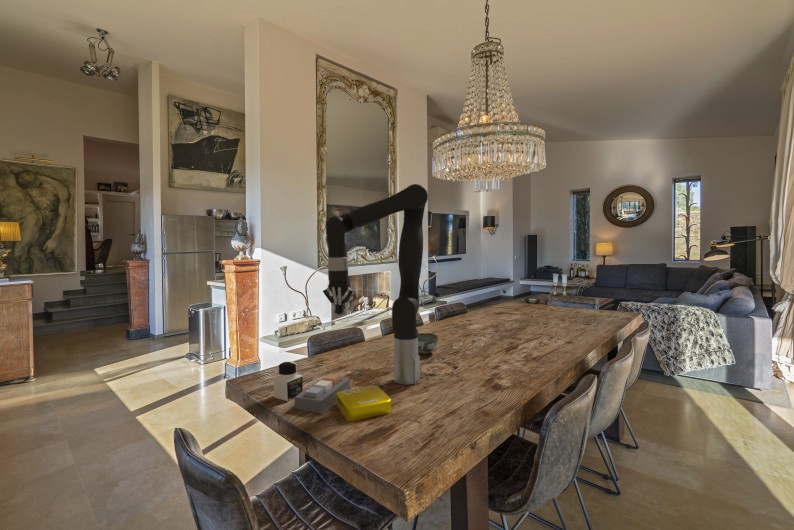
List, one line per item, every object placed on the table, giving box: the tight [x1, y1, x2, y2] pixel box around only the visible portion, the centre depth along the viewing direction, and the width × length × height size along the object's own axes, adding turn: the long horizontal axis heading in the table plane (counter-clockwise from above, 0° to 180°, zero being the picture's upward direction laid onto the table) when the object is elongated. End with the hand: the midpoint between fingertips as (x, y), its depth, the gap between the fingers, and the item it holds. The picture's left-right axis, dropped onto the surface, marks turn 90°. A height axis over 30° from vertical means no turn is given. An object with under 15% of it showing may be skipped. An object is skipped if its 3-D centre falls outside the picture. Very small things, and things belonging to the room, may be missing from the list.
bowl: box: [418, 332, 439, 355], centre depth 187 cm, size 14×13×8 cm
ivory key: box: [314, 379, 332, 391], centre depth 133 cm, size 4×4×4 cm
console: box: [294, 375, 351, 414], centre depth 134 cm, size 10×20×4 cm, turn 161°
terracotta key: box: [322, 373, 341, 385], centre depth 139 cm, size 4×4×4 cm
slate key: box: [305, 387, 324, 398], centre depth 128 cm, size 4×4×4 cm
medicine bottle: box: [273, 360, 304, 402], centre depth 136 cm, size 7×7×12 cm
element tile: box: [336, 384, 392, 422], centre depth 127 cm, size 15×15×5 cm
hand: (339, 314), depth 148 cm, fingers closed
